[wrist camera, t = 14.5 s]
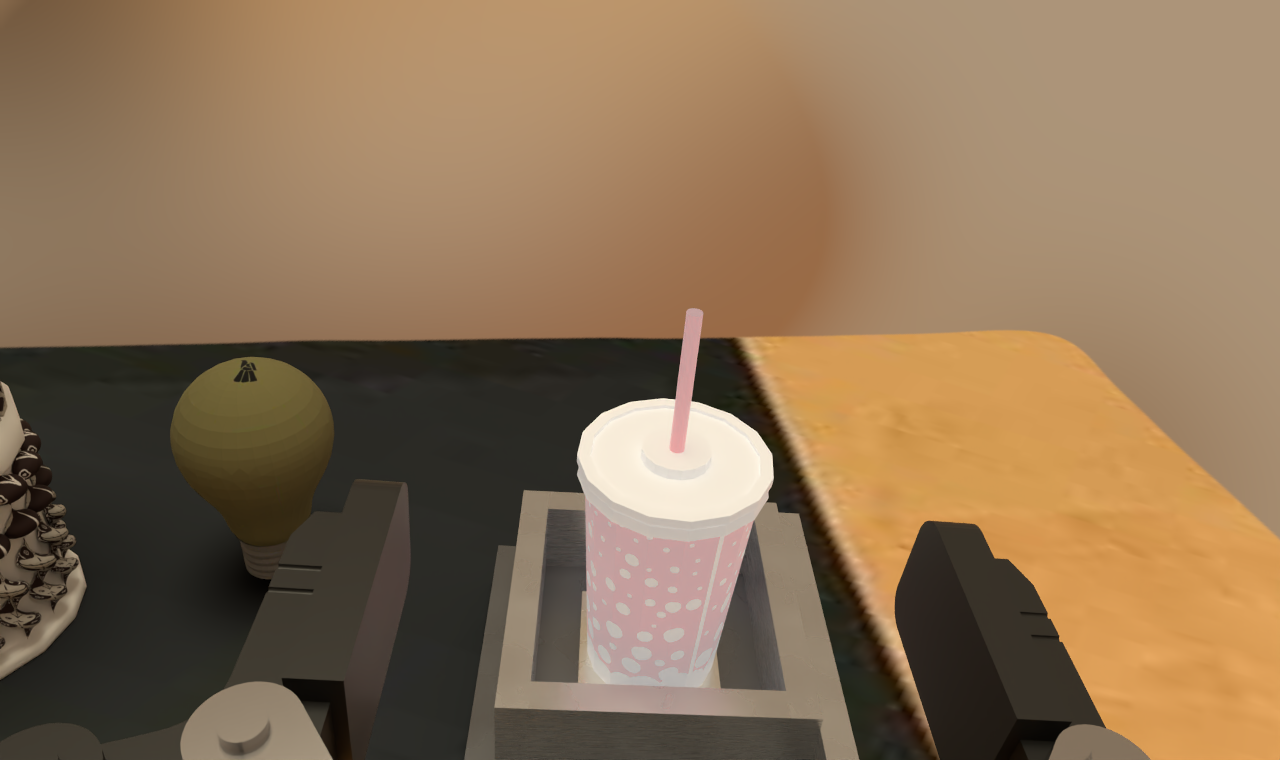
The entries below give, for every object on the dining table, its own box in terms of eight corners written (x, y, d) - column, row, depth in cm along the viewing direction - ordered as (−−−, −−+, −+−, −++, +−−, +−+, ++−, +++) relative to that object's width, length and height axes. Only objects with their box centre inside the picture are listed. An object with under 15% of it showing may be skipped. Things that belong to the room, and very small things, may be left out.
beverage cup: (679, 568, 36) (726, 251, 29) (767, 682, 32) (850, 345, 24) (539, 616, 34) (549, 281, 26) (614, 748, 29) (653, 392, 22)
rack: (419, 1098, 23) (408, 1009, 20) (498, 580, 38) (498, 488, 35) (881, 1103, 24) (930, 1016, 21) (780, 592, 39) (800, 504, 36)
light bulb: (374, 580, 38) (352, 379, 32) (239, 645, 34) (188, 434, 29) (315, 507, 41) (286, 314, 35) (186, 560, 38) (132, 356, 32)
